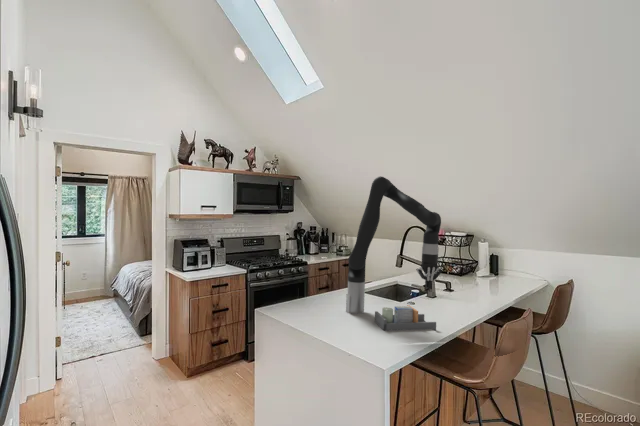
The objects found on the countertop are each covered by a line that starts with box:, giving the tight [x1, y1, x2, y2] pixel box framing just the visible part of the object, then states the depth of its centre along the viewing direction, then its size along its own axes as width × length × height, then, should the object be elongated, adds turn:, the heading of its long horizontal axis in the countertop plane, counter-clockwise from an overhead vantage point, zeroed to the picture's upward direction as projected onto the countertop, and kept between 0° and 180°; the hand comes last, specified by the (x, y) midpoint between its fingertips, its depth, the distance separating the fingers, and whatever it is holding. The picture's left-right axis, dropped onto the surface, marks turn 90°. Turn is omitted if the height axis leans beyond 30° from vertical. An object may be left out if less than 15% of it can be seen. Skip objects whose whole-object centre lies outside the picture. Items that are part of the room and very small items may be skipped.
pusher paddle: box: [406, 304, 419, 323], centre depth 159 cm, size 1×10×8 cm, turn 10°
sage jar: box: [381, 307, 394, 323], centre depth 157 cm, size 5×5×8 cm
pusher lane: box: [374, 310, 437, 332], centre depth 158 cm, size 26×12×6 cm, turn 100°
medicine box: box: [393, 305, 414, 323], centre depth 158 cm, size 8×4×9 cm, turn 98°
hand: (428, 288), depth 160 cm, fingers closed
